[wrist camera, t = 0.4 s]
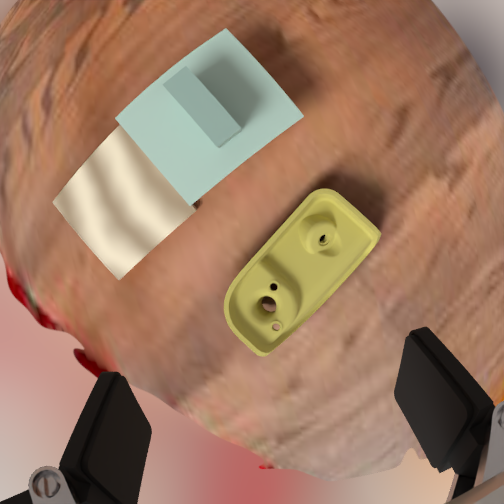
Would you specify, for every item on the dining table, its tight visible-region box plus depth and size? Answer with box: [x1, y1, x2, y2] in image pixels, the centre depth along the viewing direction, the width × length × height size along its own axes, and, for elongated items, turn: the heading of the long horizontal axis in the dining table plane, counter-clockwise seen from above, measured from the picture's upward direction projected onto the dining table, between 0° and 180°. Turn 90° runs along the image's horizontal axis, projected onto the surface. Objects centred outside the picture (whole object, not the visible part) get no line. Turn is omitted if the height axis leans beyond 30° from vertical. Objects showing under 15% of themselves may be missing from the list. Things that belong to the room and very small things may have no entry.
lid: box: [115, 29, 304, 206], centre depth 24 cm, size 14×12×6 cm
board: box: [53, 125, 197, 280], centre depth 34 cm, size 14×14×1 cm
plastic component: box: [224, 189, 381, 356], centre depth 36 cm, size 20×7×10 cm
